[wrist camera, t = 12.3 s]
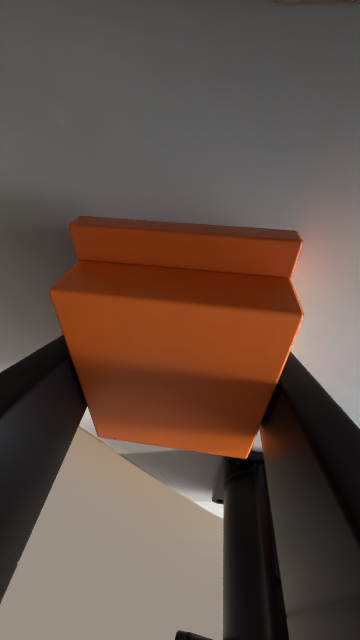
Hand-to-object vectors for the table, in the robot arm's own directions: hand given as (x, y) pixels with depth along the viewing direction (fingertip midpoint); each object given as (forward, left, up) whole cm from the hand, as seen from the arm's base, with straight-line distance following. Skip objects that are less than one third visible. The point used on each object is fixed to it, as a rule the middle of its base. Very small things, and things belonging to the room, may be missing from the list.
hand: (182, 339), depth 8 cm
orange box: (0, 0, -1) cm, 1 cm away
